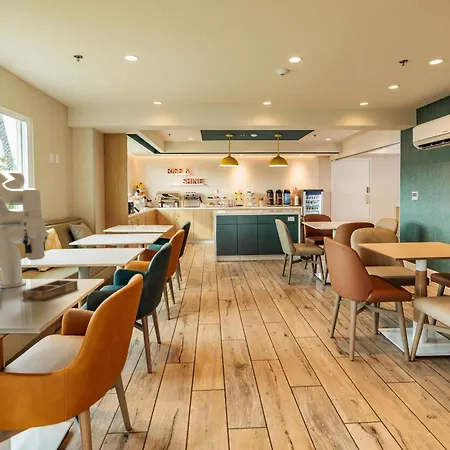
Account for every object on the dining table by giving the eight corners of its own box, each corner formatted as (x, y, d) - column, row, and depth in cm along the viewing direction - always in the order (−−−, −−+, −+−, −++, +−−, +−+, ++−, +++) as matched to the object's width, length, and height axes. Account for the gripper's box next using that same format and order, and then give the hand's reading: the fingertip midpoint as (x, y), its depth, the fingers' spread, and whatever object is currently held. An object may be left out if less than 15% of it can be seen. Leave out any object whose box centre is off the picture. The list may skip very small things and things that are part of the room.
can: (29, 258, 174) (27, 233, 174) (46, 257, 176) (44, 232, 175) (25, 260, 167) (23, 235, 166) (42, 259, 169) (40, 234, 168)
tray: (23, 299, 161) (22, 291, 161) (58, 287, 182) (57, 279, 182) (44, 301, 158) (44, 292, 158) (78, 288, 179) (77, 280, 179)
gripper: (23, 215, 161) (26, 254, 162) (53, 213, 177) (55, 249, 179) (10, 216, 163) (13, 254, 164) (41, 214, 180) (43, 249, 181)
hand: (35, 251), depth 171 cm, fingers closed on can, 7 cm apart
